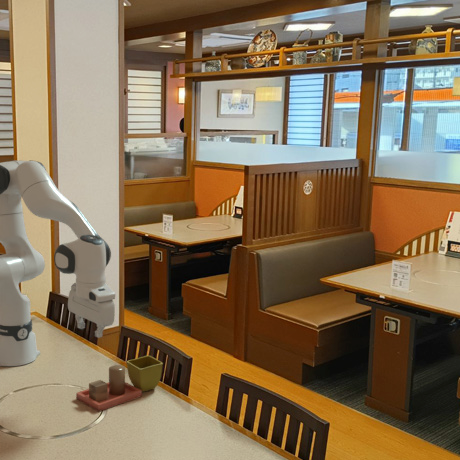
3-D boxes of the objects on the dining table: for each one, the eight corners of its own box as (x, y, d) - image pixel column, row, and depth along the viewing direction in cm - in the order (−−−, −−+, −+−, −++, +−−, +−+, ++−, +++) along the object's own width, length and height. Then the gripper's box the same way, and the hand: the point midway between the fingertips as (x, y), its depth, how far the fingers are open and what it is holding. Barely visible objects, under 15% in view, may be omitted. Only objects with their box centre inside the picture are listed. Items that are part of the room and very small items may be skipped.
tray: (76, 398, 190) (76, 392, 190) (118, 384, 201) (118, 378, 201) (98, 411, 182) (98, 405, 181) (141, 396, 193) (141, 390, 193)
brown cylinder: (105, 392, 193) (105, 368, 192) (118, 387, 197) (118, 364, 196) (115, 397, 190) (115, 372, 189) (128, 392, 194) (128, 368, 192)
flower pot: (139, 396, 193) (139, 369, 192) (125, 386, 200) (125, 360, 198) (163, 389, 199) (163, 363, 197) (148, 380, 205) (149, 355, 204)
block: (89, 398, 188) (88, 383, 188) (100, 394, 191) (99, 379, 191) (96, 402, 186) (96, 387, 185) (107, 398, 189) (107, 383, 188)
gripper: (63, 282, 191) (62, 325, 193) (101, 298, 177) (99, 344, 179) (80, 279, 195) (79, 321, 198) (118, 295, 181) (117, 339, 184)
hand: (89, 332), depth 188 cm, fingers open, 8 cm apart
